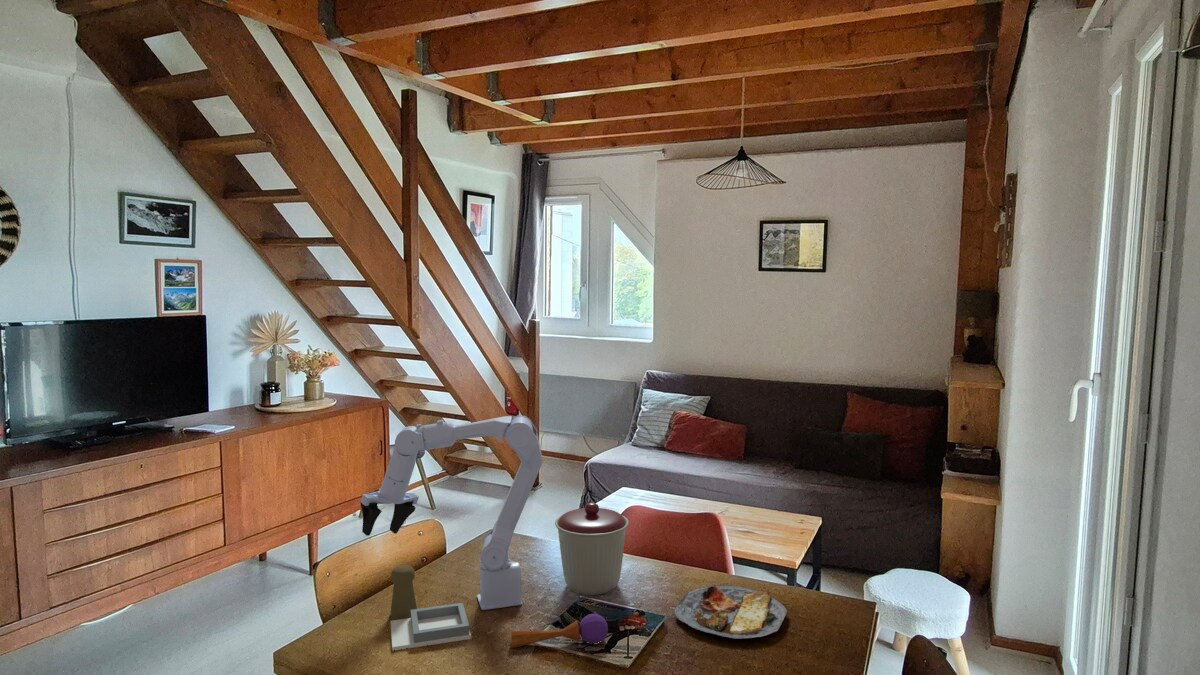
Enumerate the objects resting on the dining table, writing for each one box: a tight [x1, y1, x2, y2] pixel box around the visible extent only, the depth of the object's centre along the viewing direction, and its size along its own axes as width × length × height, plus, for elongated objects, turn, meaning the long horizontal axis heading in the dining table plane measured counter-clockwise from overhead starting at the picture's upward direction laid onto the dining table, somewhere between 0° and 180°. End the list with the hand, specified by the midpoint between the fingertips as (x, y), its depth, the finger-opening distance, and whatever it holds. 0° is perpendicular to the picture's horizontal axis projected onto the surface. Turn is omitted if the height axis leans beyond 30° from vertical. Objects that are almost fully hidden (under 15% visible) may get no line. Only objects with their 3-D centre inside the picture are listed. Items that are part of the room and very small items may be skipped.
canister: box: [554, 502, 630, 596], centre depth 177 cm, size 18×18×21 cm
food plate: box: [674, 584, 788, 640], centre depth 161 cm, size 25×23×4 cm
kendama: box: [510, 613, 609, 649], centre depth 149 cm, size 6×6×20 cm
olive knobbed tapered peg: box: [389, 564, 418, 621], centre depth 162 cm, size 6×6×11 cm
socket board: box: [390, 602, 472, 652], centre depth 155 cm, size 16×12×3 cm
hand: (379, 532), depth 166 cm, fingers open, 7 cm apart
